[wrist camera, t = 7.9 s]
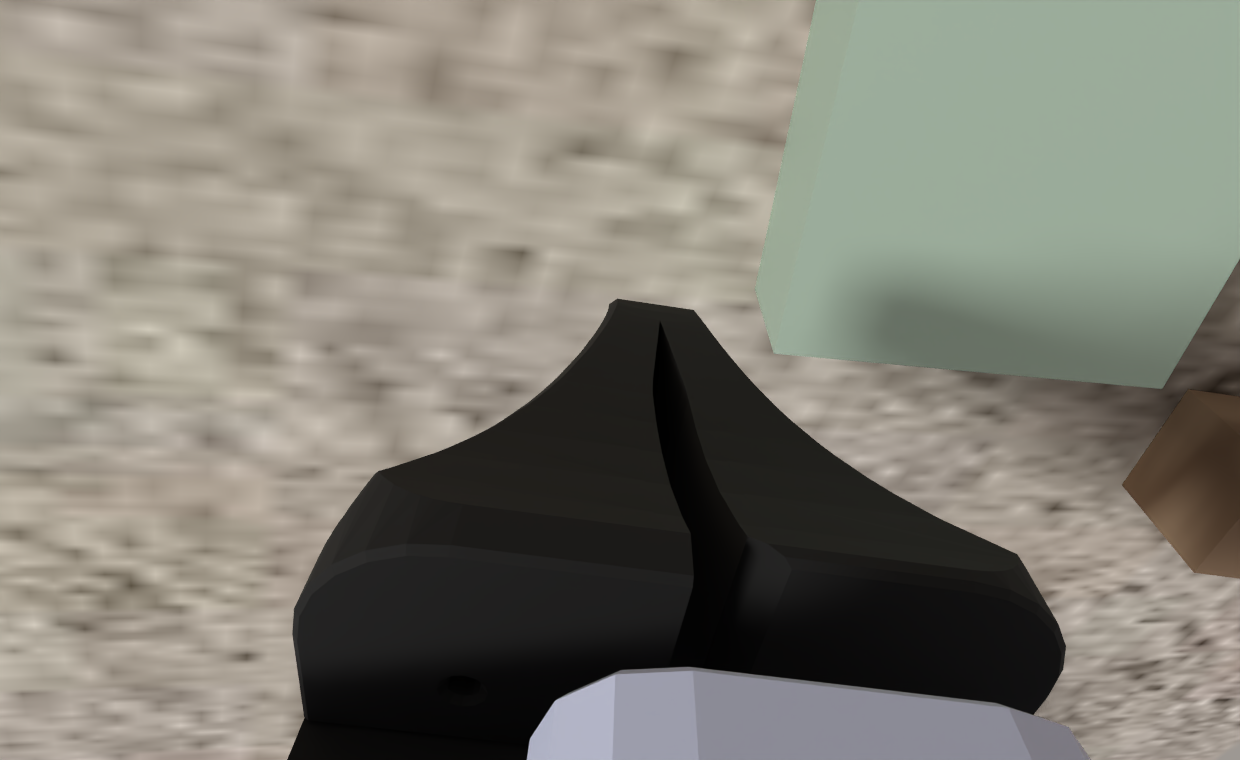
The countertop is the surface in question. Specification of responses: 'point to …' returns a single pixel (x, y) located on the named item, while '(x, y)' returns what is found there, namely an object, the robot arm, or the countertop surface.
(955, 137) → the sage block
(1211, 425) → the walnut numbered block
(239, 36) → the countertop surface
